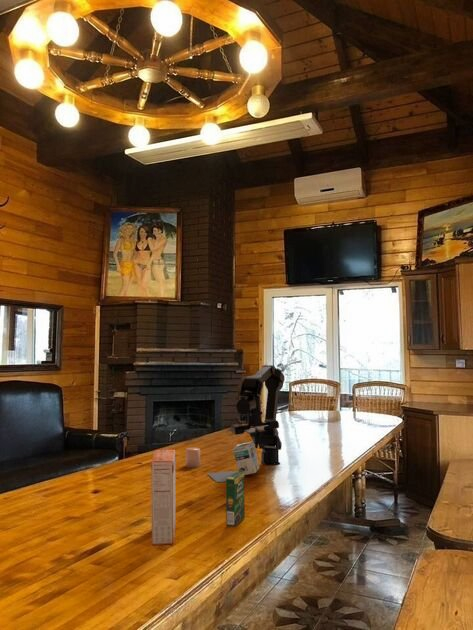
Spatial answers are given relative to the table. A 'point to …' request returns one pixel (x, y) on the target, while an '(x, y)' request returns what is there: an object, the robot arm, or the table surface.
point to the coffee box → (235, 499)
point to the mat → (220, 476)
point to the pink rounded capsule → (192, 457)
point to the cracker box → (163, 497)
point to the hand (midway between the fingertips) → (256, 447)
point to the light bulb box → (246, 458)
